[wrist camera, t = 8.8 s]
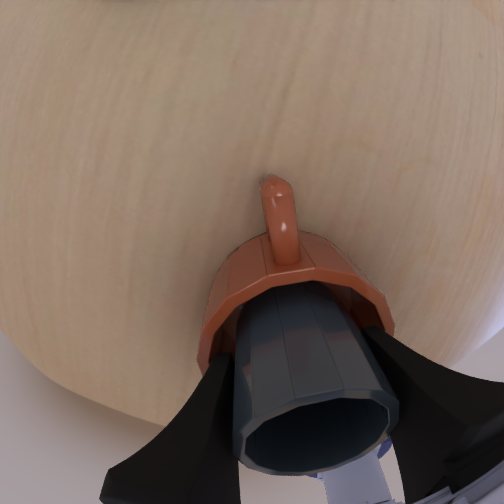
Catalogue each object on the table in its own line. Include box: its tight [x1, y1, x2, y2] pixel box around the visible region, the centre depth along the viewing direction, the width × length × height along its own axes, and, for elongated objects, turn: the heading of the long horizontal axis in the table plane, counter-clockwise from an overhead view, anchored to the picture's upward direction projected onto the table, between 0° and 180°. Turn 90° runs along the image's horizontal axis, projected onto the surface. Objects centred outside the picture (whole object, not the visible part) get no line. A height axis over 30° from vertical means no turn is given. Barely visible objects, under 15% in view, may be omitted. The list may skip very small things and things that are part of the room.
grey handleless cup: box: [232, 280, 399, 476], centre depth 10 cm, size 5×5×6 cm
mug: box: [197, 174, 395, 376], centre depth 12 cm, size 11×8×5 cm
